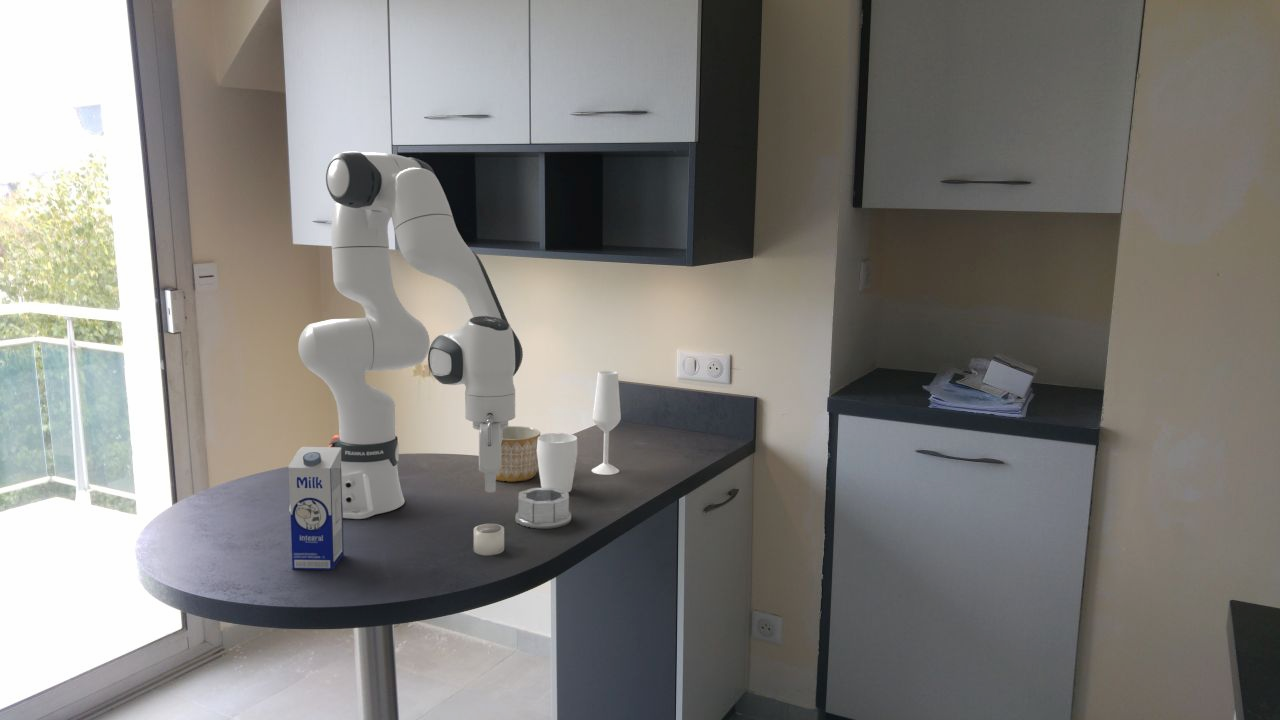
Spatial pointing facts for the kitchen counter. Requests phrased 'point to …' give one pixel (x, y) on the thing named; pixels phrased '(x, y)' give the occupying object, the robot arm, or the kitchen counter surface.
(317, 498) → the milk carton
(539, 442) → the cup
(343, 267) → the robot arm
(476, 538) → the cap
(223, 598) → the kitchen counter surface
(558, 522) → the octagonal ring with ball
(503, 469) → the planter
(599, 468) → the champagne flute
